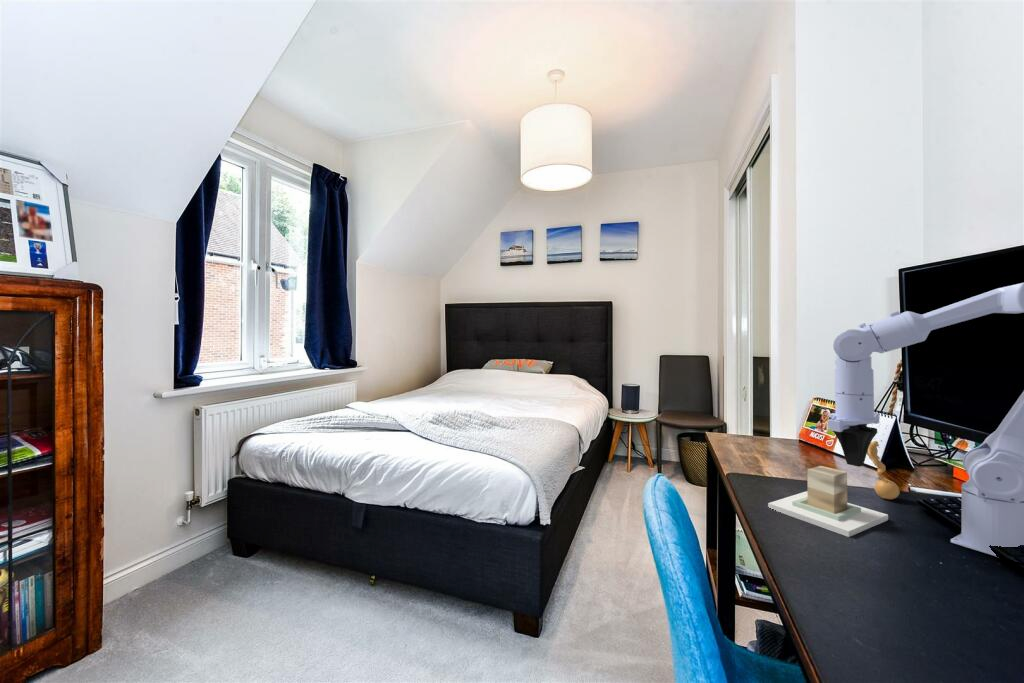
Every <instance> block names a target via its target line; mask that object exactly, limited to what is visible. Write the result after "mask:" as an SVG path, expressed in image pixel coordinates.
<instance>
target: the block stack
mask: <svg viewBox="0 0 1024 683" xmlns="http://www.w3.org/2000/svg"><path fill="white" fill-rule="evenodd" d="M806 471H807V491H808V505H809V506H812V507H815V508H819V509H822V510H825V511H828V512H831V513H834V514H837V513H840V512H843V511H845V510H847V503H848V471H843V470H840V469H834V468H831V467H828V466H823V465H819V466H814V467H810V468H807V470H806Z"/></svg>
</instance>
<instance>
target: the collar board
mask: <svg viewBox="0 0 1024 683" xmlns="http://www.w3.org/2000/svg"><path fill="white" fill-rule="evenodd" d="M768 507H769V508H771V509H770V510H772V509H774V510H773V511H775V510H776V512H778V513H780V512H781V514H784V515H787V516H789V517H792V518H794V519H798V520H800V521H803V522H805V523H808V524H811V525H814V526H817V527H820V528H823V529H825V530H828V531H831V532H833V533H836V534H839V535H842V536H845V537H847V538H850V537H853V536H855V535H857V534H859V533H862V532H863V531H866V530H868V529H871V528H872V527H876V526H877V525H880V524H882V523H885V522H887V521H888V520H889V514H887V513H883V512H881V511H877V510H873V509H870V508H867V507H863V506H859V505H858V504H857V505H856V504H853V503H850V502H847V510H845V511H843V512H840V513H837V514H834V513H831V512H828V511H825V510H822V509H819V508H815V507H812V506H809V505H808V490H806V491H803V492H799V493H797V494H794V495H793V494H792V495H790V496H787V497H784V498H780V499H777V500H774V501H770V502H768V503H767V508H768ZM769 508H768V509H769Z"/></svg>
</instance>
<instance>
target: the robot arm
mask: <svg viewBox="0 0 1024 683" xmlns="http://www.w3.org/2000/svg"><path fill="white" fill-rule="evenodd" d="M1021 313H1022V314H1023V313H1024V282H1021V283H1016V284H1012V285H1007V286H1003V287H998V288H995V289H992V290H989V291H987V292H983V293H981V294H977V295H975V296H971V297H969V298H966V299H963V300H960V301H958V302H954V303H952V304H949V305H946V306H942V307H940V308H937V309H935V310H931V311H929V312H926V313H923V314H920V313H916V312H914V311H910V310H909V311H908V310H905V311H904V312H901V313H900V311H899V310H897V311H893V312H890V313H889V317H886V318H882V319H880V320H877V321H873V322H871V323H867V324H866V323H863V322H862V323H861V324H858V328H859V329H854V328H853V329H847V330H845V331H843V332H841V333H839V335H837V336H836V337H835V339H834V340H833V345H832V346H833V351H834V353H835V354H836V355H837V356H835V360H834V361H835V362H834V365H835V368H834V395H835V396H834V399H835V400H834V401H835V402H834V407H835V408H834V409H835V412H832V413H828V419H827V431H832V432H833V434H834V435H835V436H836V438H837V440H838V441H839V443H840V446H841V449H842V451H843V456H844V459H845V462H846V464H847V465H849V466H855V467H859V468H860V467H863V466H864V465H865V461H866V458H867V451H868V448H869V445H870V443H871V442H873V439H874V438H875V436H876V435H877V433H878V428H877V427H870V426H867V425H870V424H871V425H872V424H875V425H876V424H880V413H877V412H875V398H874V396H875V395H874V394H875V393H874V392H875V391H874V390H875V389H874V388H875V386H874V384H875V382H874V380H875V379H874V378H875V377H874V369H873V368H872V354H873V353H878V354H884V353H887V352H890V351H891V352H892V351H895V350H898V349H902V348H904V347H908V346H912V345H915V344H917V343H918V344H919V343H922V342H925V341H926V340H927V338H928V336H929V334H930V333H931V331H933V330H938V329H940V328H944V327H947V326H951V325H955V324H958V323H961V322H966V321H969V320H973V319H976V318H980V317H983V316H987V315H990V314H1021ZM829 418H830V419H829ZM962 466H963V469H964V471H966V473H967V474H968V477H969V478H968V480H967V481H965V482H963V483H962V484H961V532H960V534H957V535H956V536H954V537H953V538H950V543H952V544H955V545H958V546H961V547H964V548H967V549H971V550H974V551H978V552H981V553H984V554H988V555H991V556H994V557H997V556H996V554H995V553H994V552H993V551H992V550H991V548H990V547H989V546H990V545H991V546H998V547H999V546H1001V547H1018V546H1020V545H1024V390H1023V391H1022V393H1021V394H1020V395H1019V397H1018V398H1017V400H1016V401H1015V402H1014V404H1013V405H1012V406H1011V408H1010V410H1009V411H1008V413H1007V414H1006V415H1005V417H1004V418H1003V419H1002V421H1001V423H1000V424H999V425H998V427H997V428H996V429H995V431H993V432H992V433H990V434H989V435H988V436H987V437H986V438H985V439H984V441H983V442H982V443H981V444H979V445H978V446H977V447H974V448H971V449H969V450H968V451H967V452H966V453H965V454H964V456H963V458H962ZM997 558H998V557H997Z"/></svg>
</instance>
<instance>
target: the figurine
mask: <svg viewBox="0 0 1024 683" xmlns="http://www.w3.org/2000/svg"><path fill="white" fill-rule="evenodd" d="M879 446H880V444H879V442H878V441H877V440H874V441H873V440H872V441H871V443H870V445H869V448H868V451H867V454H866V456H868V459H869V460H871V461H872V464H873V465H874V466H876V468H877V473H876V474H877V476H878V478H880V480H877V481H876V482H875V484H874V485H873V487H874V491H875V493H876V494H877V495H878V497H880V498H882V499H885V500H895V499H896V498H898V496H899V495H900V488H899V486H898V485H897V484H896V483H895V482H894V481H892V480H889V478H887V477H885V476H884V475H882V474H883V473H884V472H886V465H885V464H884V463H883V462H882V461H881V457H880V456H879V455H878V452H879V451H878V447H879Z"/></svg>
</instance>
